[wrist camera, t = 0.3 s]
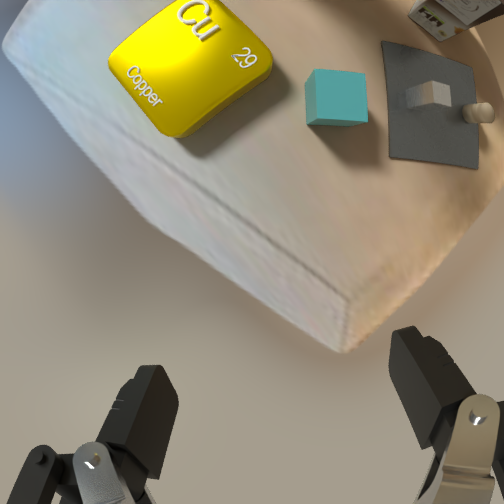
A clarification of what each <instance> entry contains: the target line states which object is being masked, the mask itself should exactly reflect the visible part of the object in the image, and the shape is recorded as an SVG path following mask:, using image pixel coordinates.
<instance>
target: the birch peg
mask: <svg viewBox="0 0 504 504" xmlns="http://www.w3.org/2000/svg"><path fill="white" fill-rule="evenodd" d="M462 114H463V117H464V119H465V120H466V122H468V123H492V122H493V121H494V119H495V113H494V110H493V108H492V106H491V105H490V104H489V103H477V104H468V105H464V107H463V109H462Z"/></svg>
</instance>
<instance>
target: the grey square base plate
mask: <svg viewBox="0 0 504 504" xmlns="http://www.w3.org/2000/svg"><path fill="white" fill-rule="evenodd" d="M381 44H382V51H383V59H384V68H385V78H386V89H387V104H388V127H389V157H396V158H406V159H414V160H423V161H430V162H438V163H445V164H451V165H457V166H463V167H469V168H474V169H478V162H479V134H478V123H468V122H466V120H465V119H464V117H463V114H462V109H463V107H464V105H468V104H477V101H476V91H475V83H474V75H473V69H472V68H471V67H469V66H466V65H464V64H461V63H459V62H456V61H453V60H451V59H448V58H445V57H442V56H439V55H436V54H433V53H429V52H426V51H423V50H419V49H416V48H412V47H408V46H404V45H400V44H396V43H391V42H387V41H381Z"/></svg>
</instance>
